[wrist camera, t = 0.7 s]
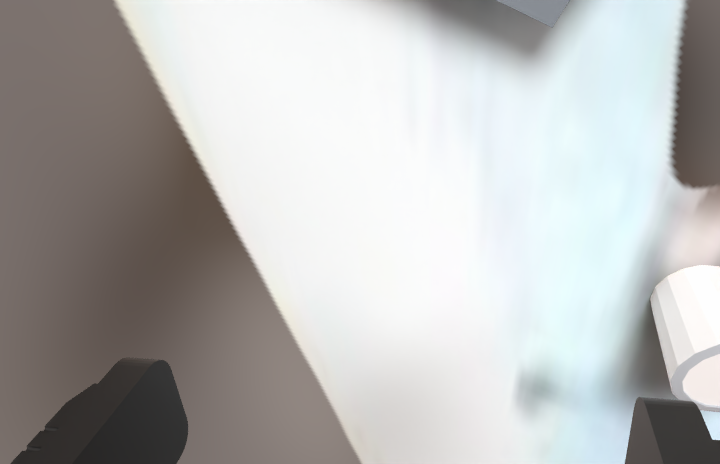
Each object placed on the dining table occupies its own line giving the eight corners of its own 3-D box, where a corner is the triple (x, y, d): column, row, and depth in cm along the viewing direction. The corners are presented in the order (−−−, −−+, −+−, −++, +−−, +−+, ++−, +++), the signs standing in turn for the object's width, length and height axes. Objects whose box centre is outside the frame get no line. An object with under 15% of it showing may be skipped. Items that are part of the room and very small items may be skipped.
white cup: (635, 331, 41) (663, 414, 36) (645, 261, 37) (679, 344, 32) (740, 327, 40) (786, 413, 34) (763, 254, 36) (818, 339, 30)
